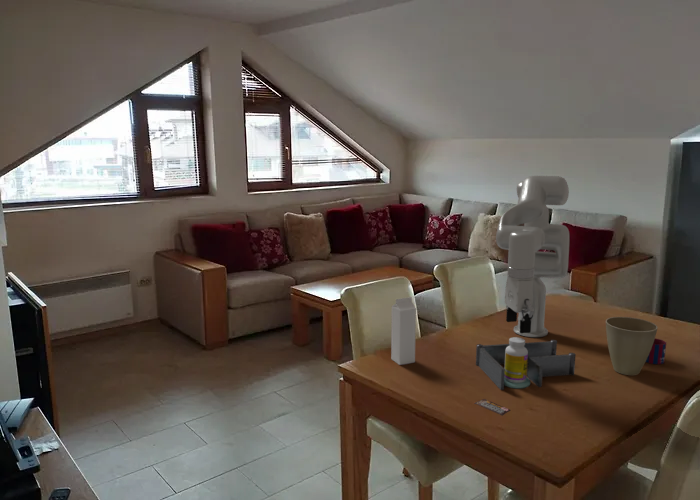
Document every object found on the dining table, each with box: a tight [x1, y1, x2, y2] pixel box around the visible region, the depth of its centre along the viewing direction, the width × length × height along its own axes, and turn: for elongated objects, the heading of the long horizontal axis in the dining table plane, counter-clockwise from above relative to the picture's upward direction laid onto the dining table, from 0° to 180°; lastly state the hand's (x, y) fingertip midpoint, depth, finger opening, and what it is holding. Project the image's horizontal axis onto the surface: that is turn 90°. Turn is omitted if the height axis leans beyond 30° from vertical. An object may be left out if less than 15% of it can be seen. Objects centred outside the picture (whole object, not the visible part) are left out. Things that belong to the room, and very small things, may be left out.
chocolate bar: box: [473, 398, 511, 417], centre depth 164 cm, size 11×5×1 cm, turn 39°
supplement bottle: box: [503, 336, 528, 383], centre depth 179 cm, size 7×7×13 cm
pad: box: [504, 376, 531, 389], centre depth 180 cm, size 9×9×1 cm
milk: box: [390, 296, 417, 366], centre depth 195 cm, size 6×6×22 cm
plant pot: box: [605, 316, 658, 376], centre depth 186 cm, size 15×15×16 cm
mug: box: [645, 337, 667, 365], centre depth 196 cm, size 7×10×7 cm
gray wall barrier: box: [475, 339, 577, 391], centre depth 186 cm, size 20×28×7 cm
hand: (518, 326), depth 177 cm, fingers open, 9 cm apart
